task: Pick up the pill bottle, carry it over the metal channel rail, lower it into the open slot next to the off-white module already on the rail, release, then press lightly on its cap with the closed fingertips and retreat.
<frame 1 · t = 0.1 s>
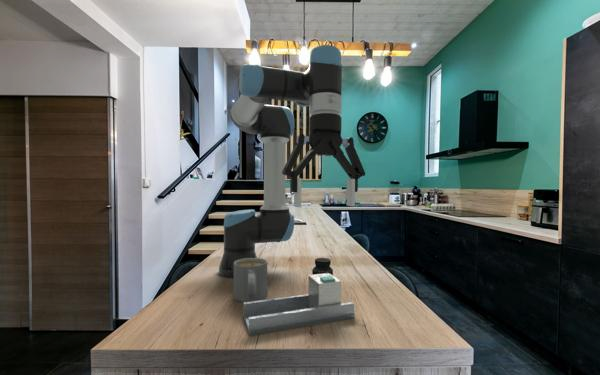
hand: (325, 206, 66), 28 cm above the counter, fingers open, 13 cm apart
coffee mug: (249, 298, 83), on the counter
rail: (298, 317, 71), on the counter
pill bottle: (322, 297, 84), on the counter
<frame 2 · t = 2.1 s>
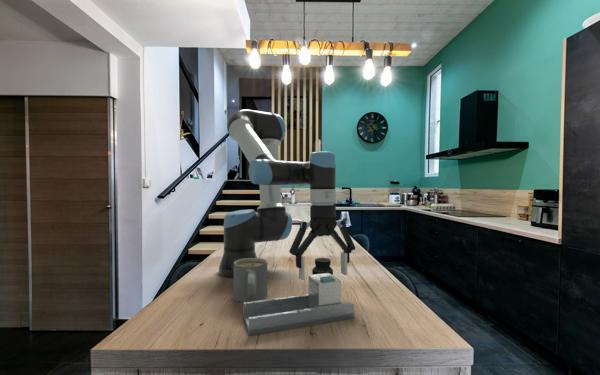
hand: (323, 276, 83), 6 cm above the counter, fingers open, 13 cm apart
nothing on the counter moved.
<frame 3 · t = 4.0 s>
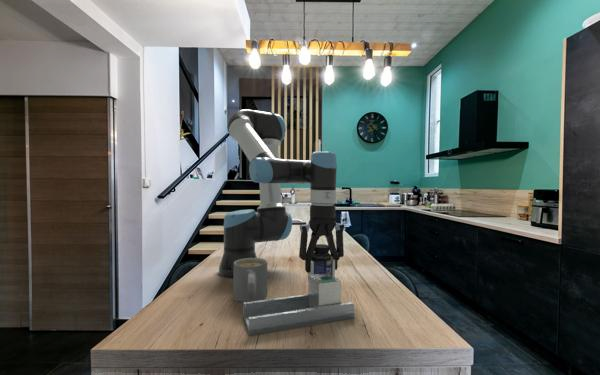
hand: (321, 281, 84), 4 cm above the counter, fingers closed on pill bottle, 6 cm apart
pill bottle: (320, 283, 84), point 4 cm above the counter, touching gripper
everything else where it was.
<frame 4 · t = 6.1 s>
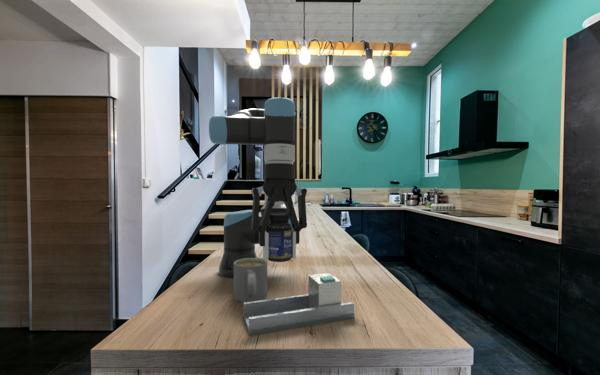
hand: (279, 258, 69), 15 cm above the counter, fingers closed on pill bottle, 6 cm apart
pill bottle: (279, 260, 69), point 15 cm above the counter, touching gripper
everything else where it was.
when the fingers open (2 cm above the counter, at t = 8.6 s): pill bottle drops 1 cm, resting on rail.
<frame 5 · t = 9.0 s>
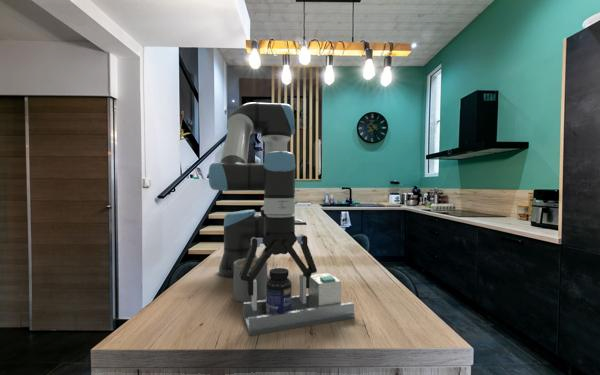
hand: (279, 304, 69), 4 cm above the counter, fingers open, 11 cm apart
pill bottle: (278, 316, 69), point 1 cm above the counter, touching rail
everything else where it was.
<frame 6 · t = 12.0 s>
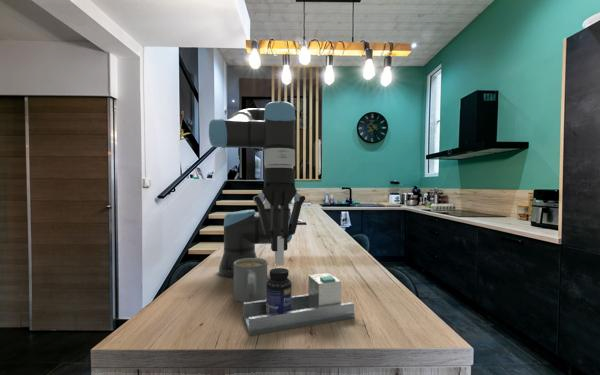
hand: (279, 264, 69), 14 cm above the counter, fingers closed
nothing on the counter moved.
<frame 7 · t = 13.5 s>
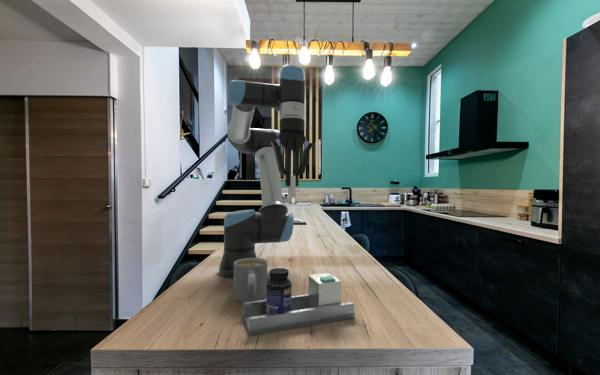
hand: (291, 197, 86), 29 cm above the counter, fingers closed
nothing on the counter moved.
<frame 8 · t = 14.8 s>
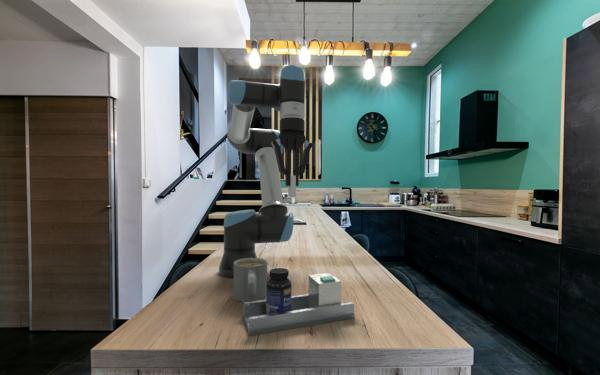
hand: (291, 197, 86), 29 cm above the counter, fingers closed
nothing on the counter moved.
at the end: pill bottle 0.2 cm from the target spot on the rail, point 0.8 cm above the rail's base; pill bottle tilted 0°; the gripper is holding nothing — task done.
